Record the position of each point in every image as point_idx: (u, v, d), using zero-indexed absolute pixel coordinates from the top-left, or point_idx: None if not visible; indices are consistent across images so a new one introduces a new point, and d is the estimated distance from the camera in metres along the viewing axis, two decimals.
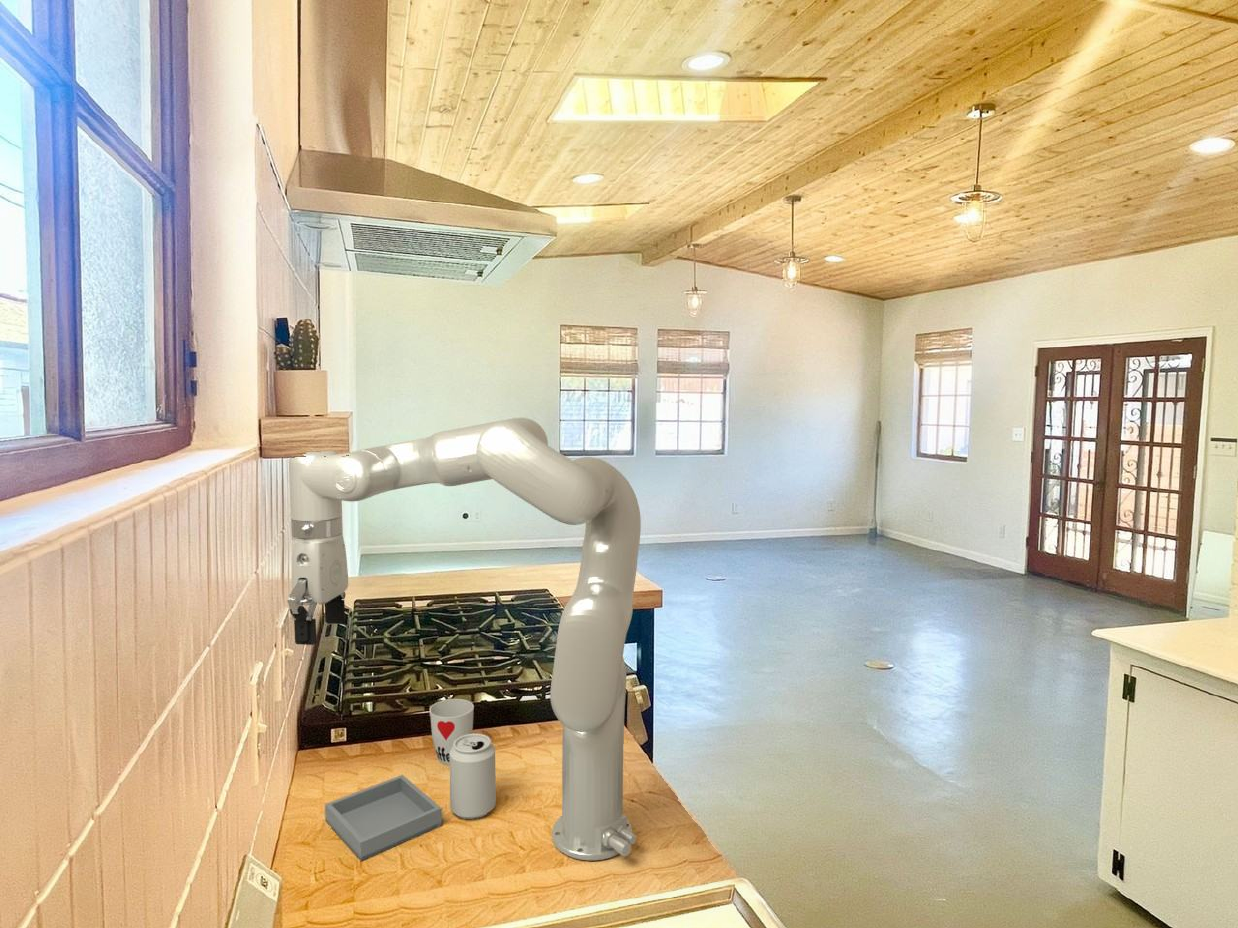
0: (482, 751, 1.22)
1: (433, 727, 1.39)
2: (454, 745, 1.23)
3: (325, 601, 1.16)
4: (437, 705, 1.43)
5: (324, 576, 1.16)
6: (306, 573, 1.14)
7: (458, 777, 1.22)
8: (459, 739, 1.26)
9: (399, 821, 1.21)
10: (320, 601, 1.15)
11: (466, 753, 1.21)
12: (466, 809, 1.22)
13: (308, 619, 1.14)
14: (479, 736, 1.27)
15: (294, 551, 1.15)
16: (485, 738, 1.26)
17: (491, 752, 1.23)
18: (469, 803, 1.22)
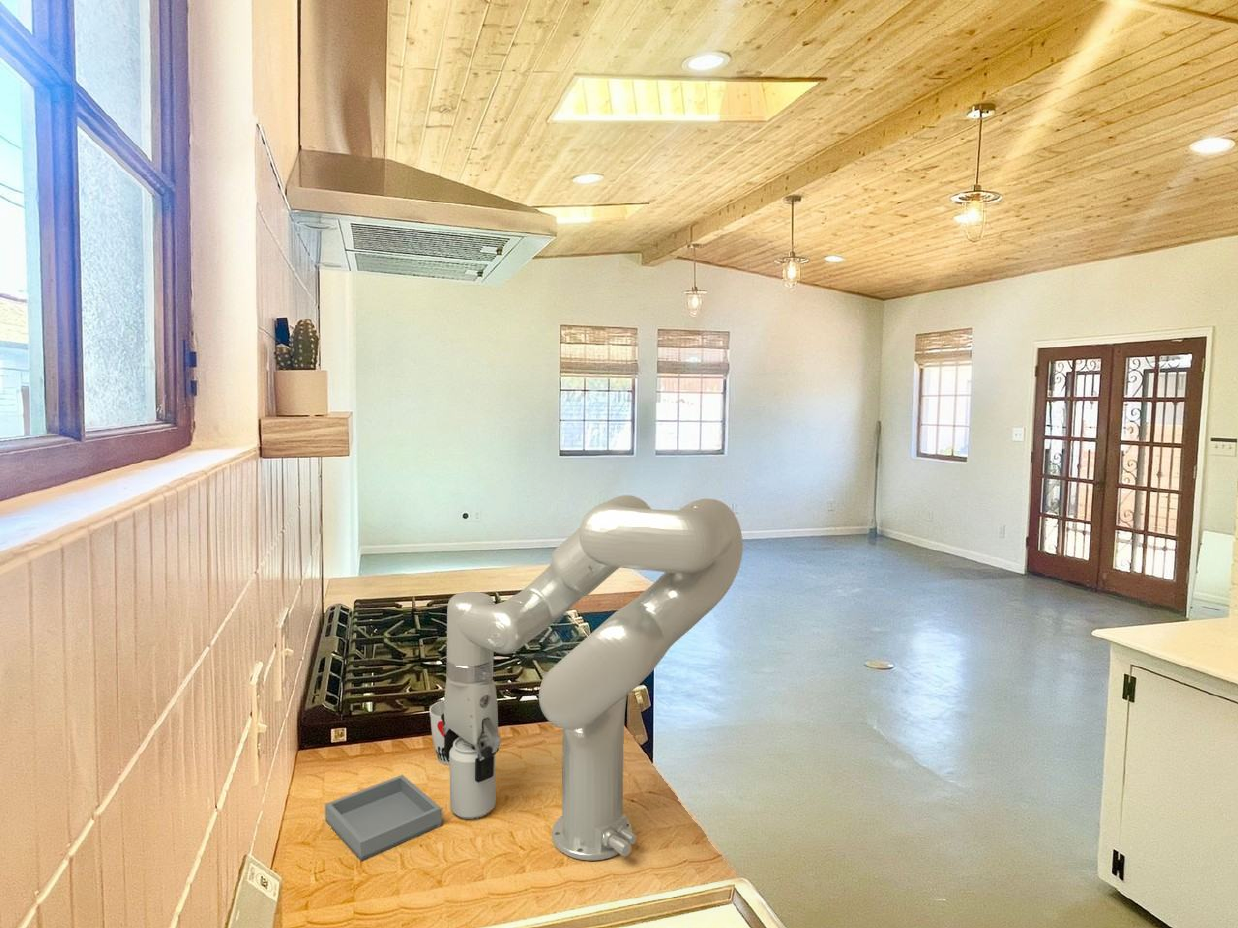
0: None
1: (433, 727, 1.39)
2: (454, 745, 1.23)
3: None
4: (437, 705, 1.43)
5: None
6: (489, 712, 1.20)
7: (458, 777, 1.22)
8: (459, 739, 1.26)
9: (399, 821, 1.21)
10: None
11: (466, 753, 1.21)
12: (466, 809, 1.22)
13: (494, 754, 1.21)
14: None
15: (475, 696, 1.19)
16: None
17: None
18: (469, 803, 1.22)
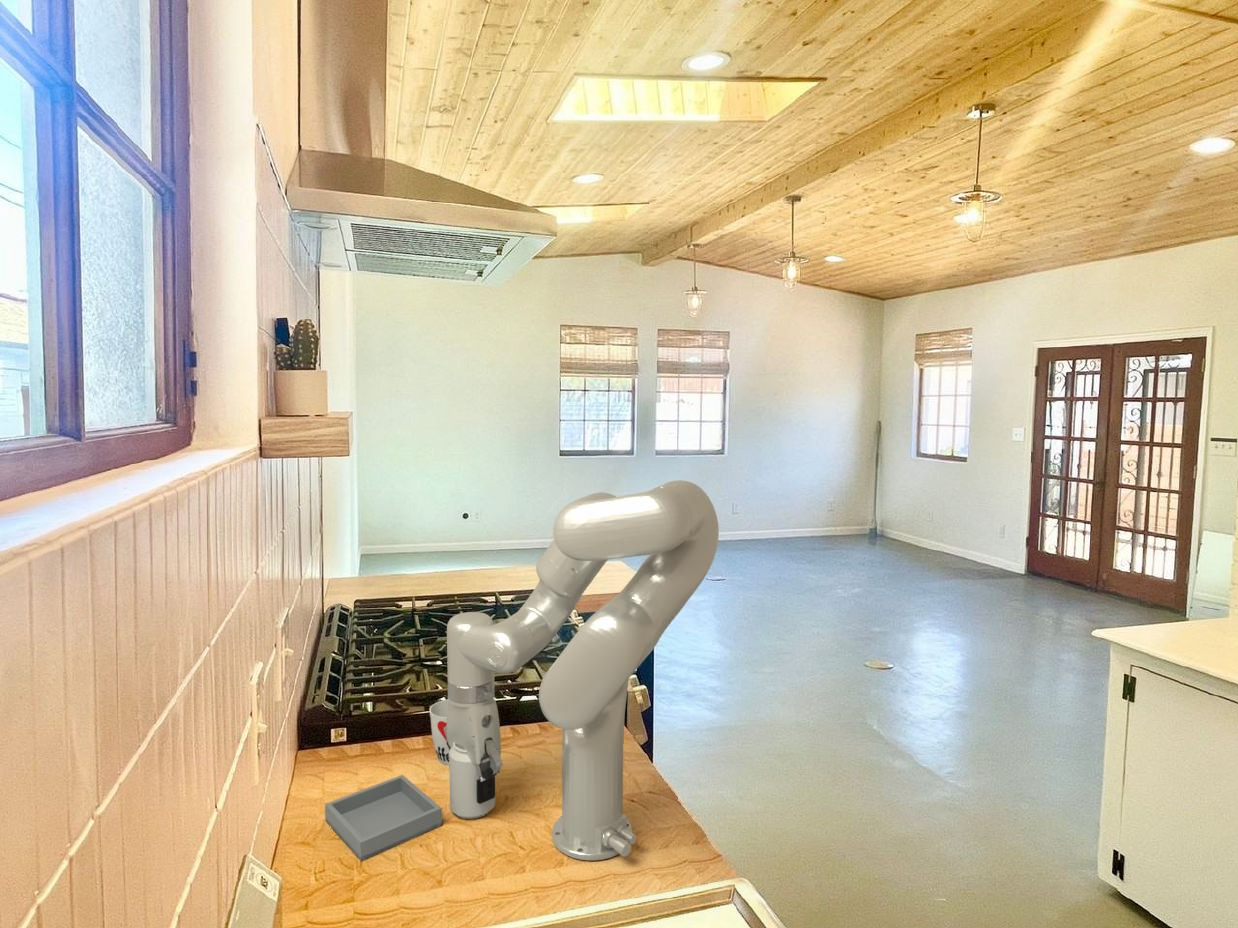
0: None
1: (433, 727, 1.39)
2: (454, 745, 1.23)
3: None
4: (437, 705, 1.43)
5: None
6: (491, 732, 1.21)
7: (458, 777, 1.22)
8: None
9: (399, 821, 1.21)
10: (500, 754, 1.23)
11: (466, 753, 1.21)
12: (465, 809, 1.22)
13: (495, 775, 1.22)
14: None
15: (477, 716, 1.19)
16: None
17: None
18: (469, 803, 1.22)
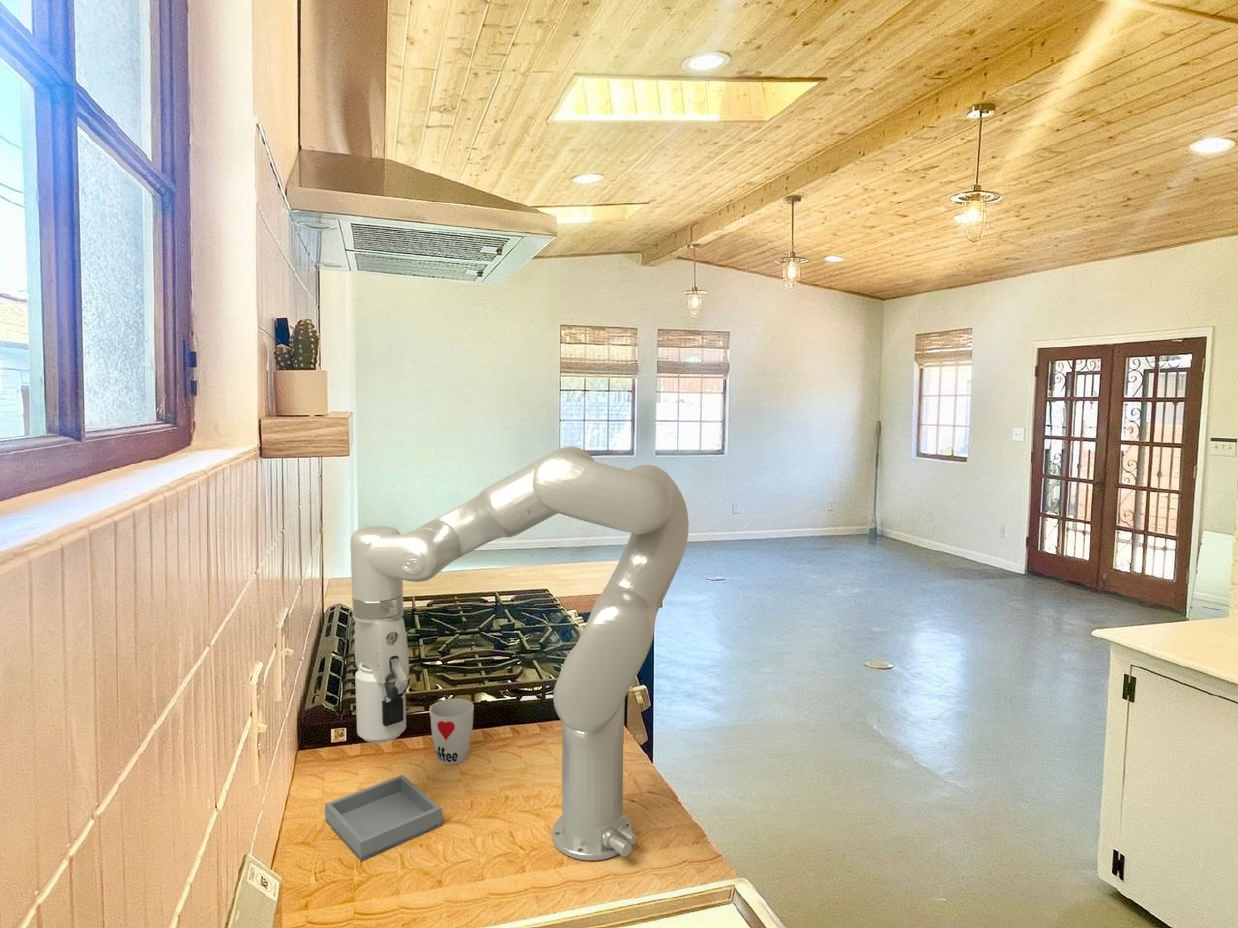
0: None
1: (433, 727, 1.39)
2: (360, 665, 1.17)
3: None
4: (437, 705, 1.43)
5: None
6: (397, 650, 1.15)
7: (363, 698, 1.15)
8: None
9: (399, 821, 1.21)
10: (408, 674, 1.17)
11: (371, 672, 1.15)
12: (371, 731, 1.16)
13: (402, 697, 1.16)
14: None
15: (381, 632, 1.13)
16: None
17: None
18: (374, 725, 1.16)
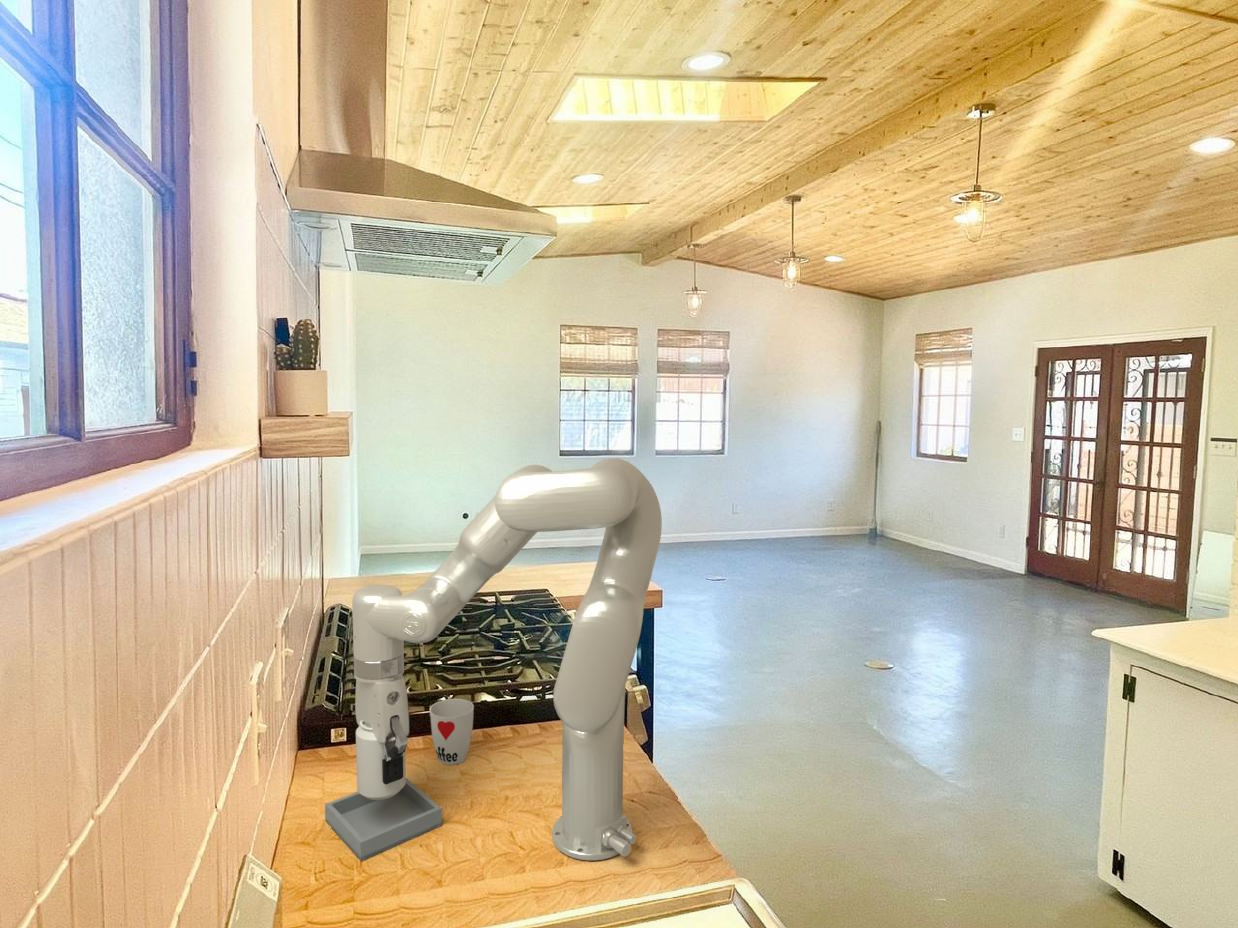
0: None
1: (433, 727, 1.39)
2: (360, 723, 1.18)
3: None
4: (437, 705, 1.43)
5: None
6: (397, 710, 1.16)
7: (363, 756, 1.17)
8: None
9: (399, 821, 1.21)
10: (408, 732, 1.18)
11: None
12: (371, 789, 1.17)
13: (402, 755, 1.17)
14: None
15: (382, 692, 1.14)
16: None
17: None
18: (374, 783, 1.17)
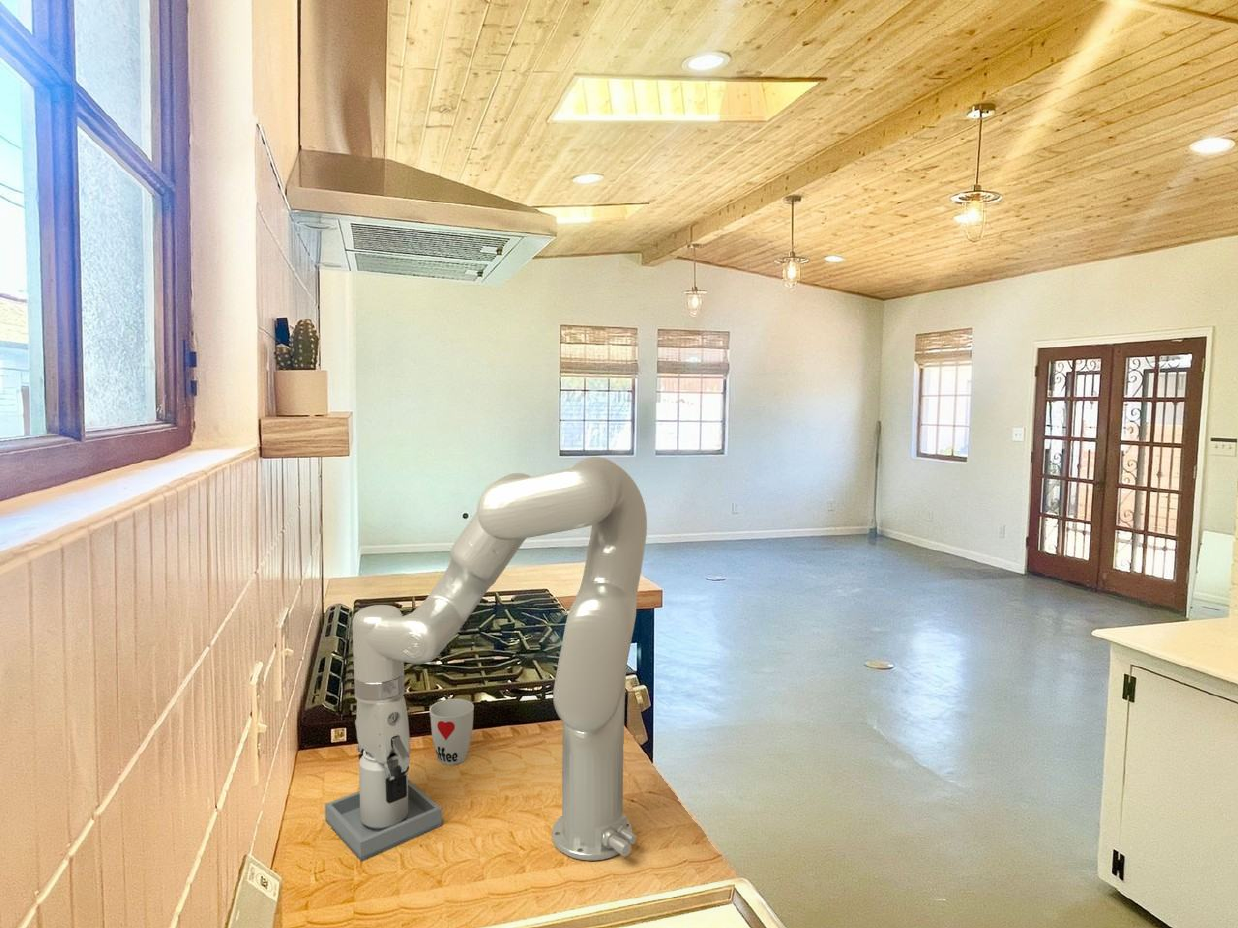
0: None
1: (433, 727, 1.39)
2: (364, 753, 1.19)
3: None
4: (437, 705, 1.43)
5: None
6: (398, 730, 1.16)
7: (367, 787, 1.17)
8: None
9: None
10: (409, 752, 1.18)
11: (375, 761, 1.17)
12: (375, 819, 1.18)
13: (406, 773, 1.17)
14: None
15: (383, 713, 1.15)
16: None
17: None
18: (378, 813, 1.18)
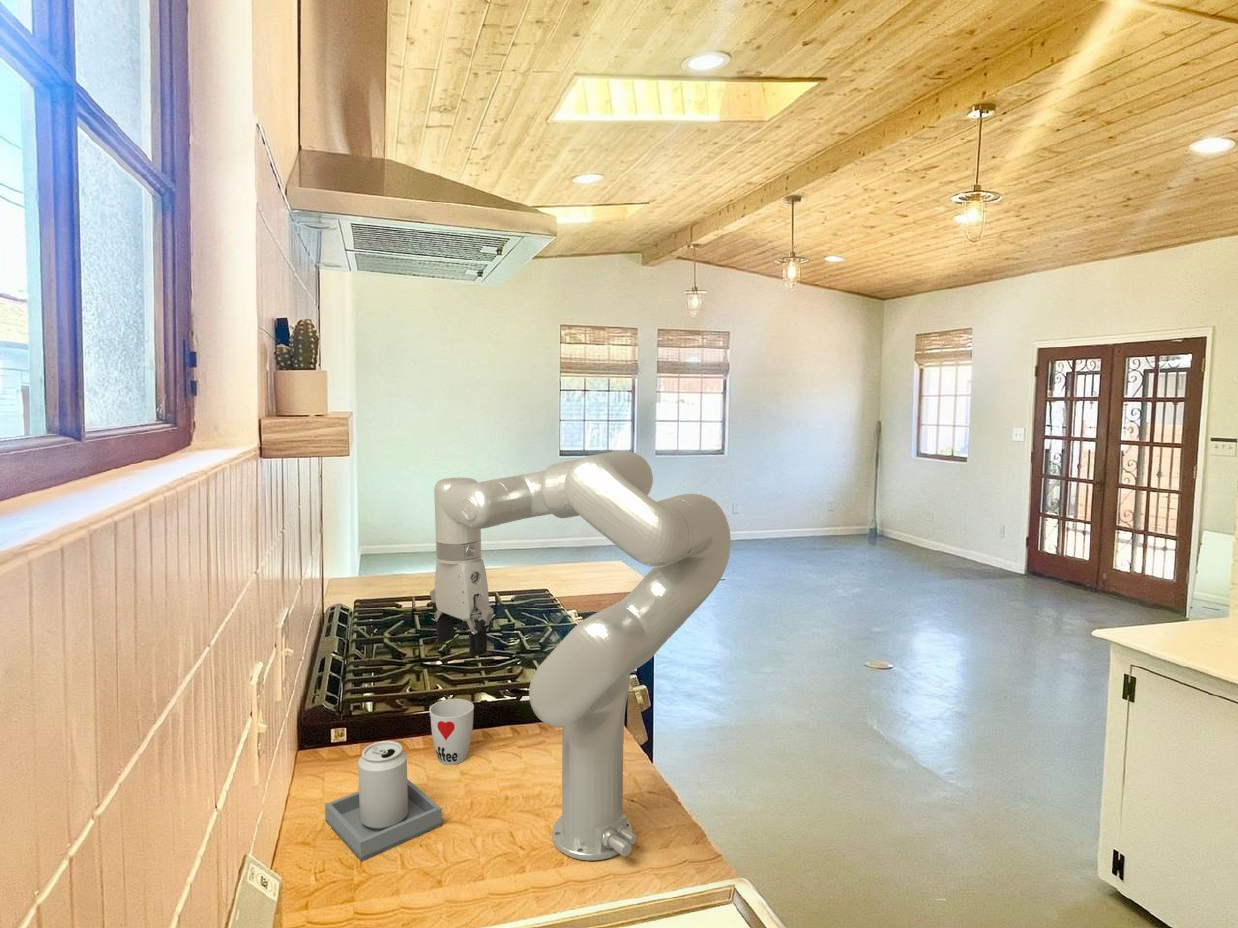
0: (391, 759, 1.18)
1: (433, 727, 1.39)
2: (363, 753, 1.19)
3: None
4: (437, 705, 1.43)
5: None
6: (479, 589, 1.26)
7: (366, 787, 1.17)
8: (369, 747, 1.21)
9: None
10: None
11: (374, 762, 1.17)
12: (374, 819, 1.18)
13: (487, 629, 1.26)
14: (391, 743, 1.23)
15: (466, 572, 1.24)
16: (397, 745, 1.22)
17: (402, 760, 1.19)
18: (378, 813, 1.18)
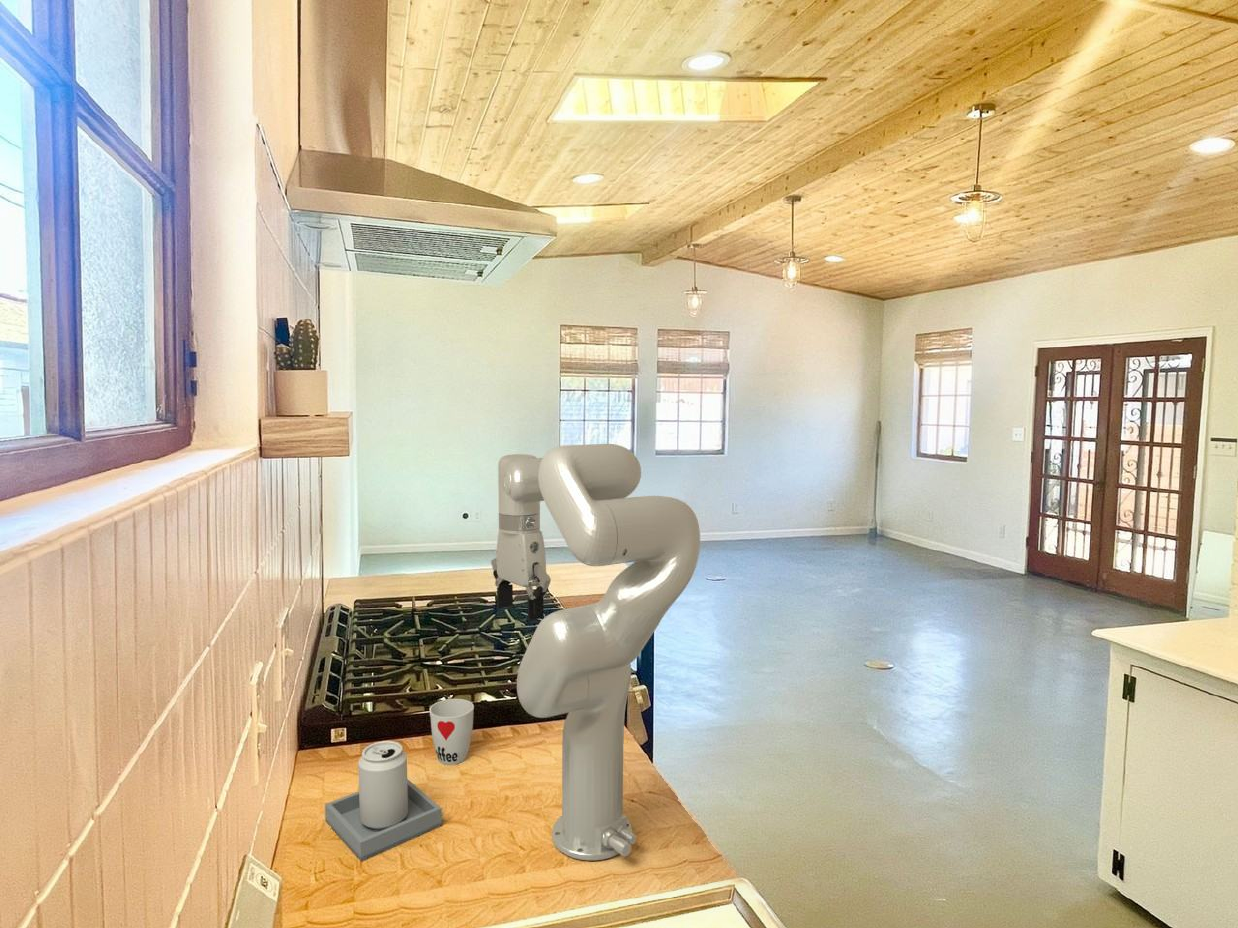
0: (391, 759, 1.18)
1: (433, 727, 1.39)
2: (363, 753, 1.19)
3: None
4: (437, 705, 1.43)
5: None
6: (538, 558, 1.35)
7: (366, 787, 1.17)
8: (369, 747, 1.21)
9: None
10: None
11: (374, 762, 1.17)
12: (374, 819, 1.18)
13: (544, 596, 1.36)
14: (391, 743, 1.23)
15: (526, 541, 1.34)
16: (397, 745, 1.22)
17: (402, 760, 1.19)
18: (378, 813, 1.18)
